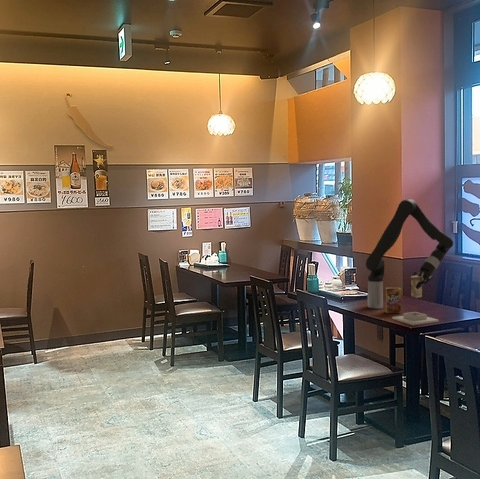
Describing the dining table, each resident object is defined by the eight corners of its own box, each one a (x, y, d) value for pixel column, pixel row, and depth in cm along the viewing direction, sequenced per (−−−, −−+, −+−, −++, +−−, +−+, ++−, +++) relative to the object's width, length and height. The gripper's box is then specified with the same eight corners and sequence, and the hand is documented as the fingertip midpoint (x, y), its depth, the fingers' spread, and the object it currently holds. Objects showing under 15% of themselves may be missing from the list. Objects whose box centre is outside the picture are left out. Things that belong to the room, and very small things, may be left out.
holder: (392, 319, 337) (392, 312, 336) (417, 315, 344) (417, 309, 343) (412, 325, 320) (412, 318, 320) (438, 321, 327) (438, 315, 327)
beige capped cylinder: (411, 296, 338) (411, 276, 337) (416, 295, 340) (416, 275, 339) (416, 297, 334) (416, 277, 333) (422, 297, 336) (421, 276, 335)
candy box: (385, 313, 354) (385, 288, 353) (385, 311, 358) (385, 287, 357) (400, 313, 352) (401, 288, 351) (400, 311, 357) (400, 287, 355)
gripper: (418, 260, 345) (401, 281, 341) (435, 262, 332) (418, 285, 328) (425, 268, 347) (409, 290, 343) (442, 270, 334) (425, 293, 330)
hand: (413, 287), depth 336 cm, fingers closed on beige capped cylinder, 4 cm apart
